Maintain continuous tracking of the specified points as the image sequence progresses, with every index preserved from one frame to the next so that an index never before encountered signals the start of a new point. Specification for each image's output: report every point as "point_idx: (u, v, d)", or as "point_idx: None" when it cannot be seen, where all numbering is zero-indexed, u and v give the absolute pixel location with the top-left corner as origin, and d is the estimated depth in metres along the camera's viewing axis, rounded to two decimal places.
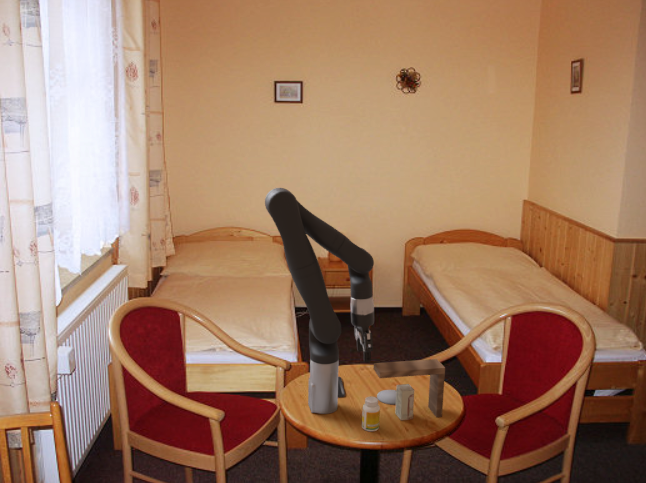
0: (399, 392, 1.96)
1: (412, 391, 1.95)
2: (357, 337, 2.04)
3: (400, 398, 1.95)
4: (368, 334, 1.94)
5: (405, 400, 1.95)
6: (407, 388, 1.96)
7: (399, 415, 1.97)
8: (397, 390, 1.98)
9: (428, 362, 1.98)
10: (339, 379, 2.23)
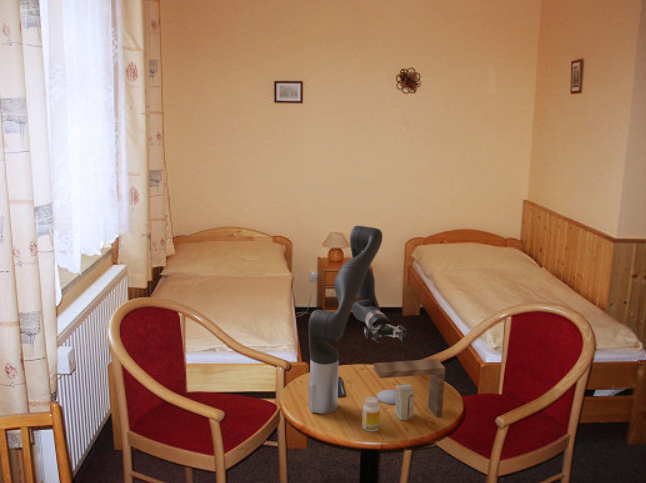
0: (399, 392, 1.96)
1: (412, 391, 1.95)
2: (377, 331, 2.14)
3: (400, 398, 1.95)
4: None
5: (405, 400, 1.95)
6: (407, 388, 1.96)
7: (399, 415, 1.97)
8: (397, 390, 1.98)
9: (428, 362, 1.98)
10: (339, 379, 2.23)
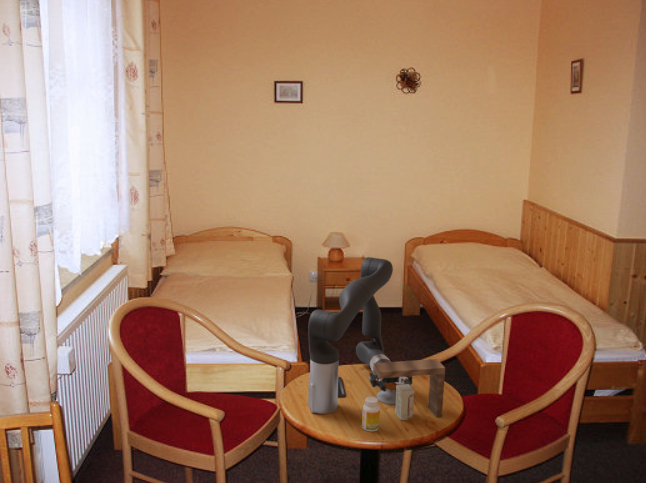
0: (399, 392, 1.96)
1: (412, 390, 1.95)
2: (383, 378, 2.09)
3: (400, 398, 1.95)
4: None
5: (405, 400, 1.95)
6: (407, 388, 1.96)
7: (399, 415, 1.97)
8: (397, 390, 1.98)
9: (428, 362, 1.98)
10: (339, 379, 2.23)
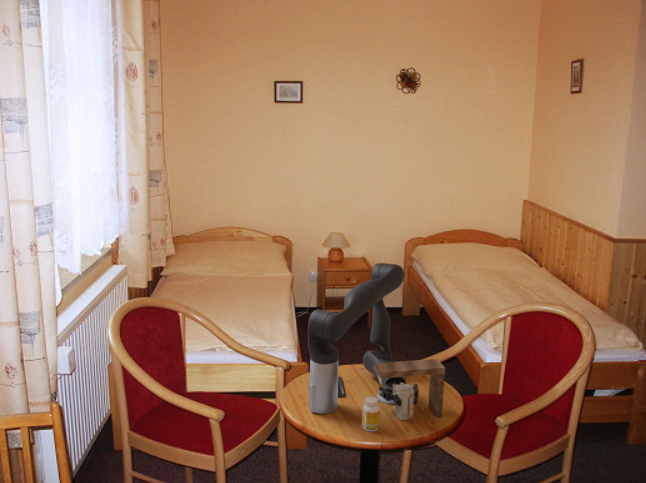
0: (399, 392, 1.96)
1: (412, 390, 1.95)
2: None
3: (400, 398, 1.95)
4: None
5: (405, 400, 1.95)
6: (406, 388, 1.96)
7: (399, 415, 1.97)
8: (397, 390, 1.98)
9: (428, 362, 1.98)
10: (339, 379, 2.23)
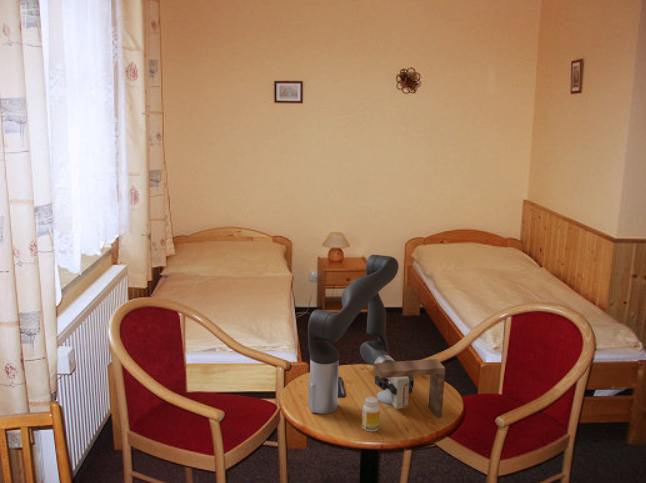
0: (394, 381, 2.00)
1: (407, 380, 1.99)
2: None
3: None
4: None
5: (400, 389, 1.99)
6: (402, 377, 2.00)
7: (394, 404, 2.01)
8: (393, 379, 2.02)
9: (428, 362, 1.98)
10: (339, 379, 2.23)
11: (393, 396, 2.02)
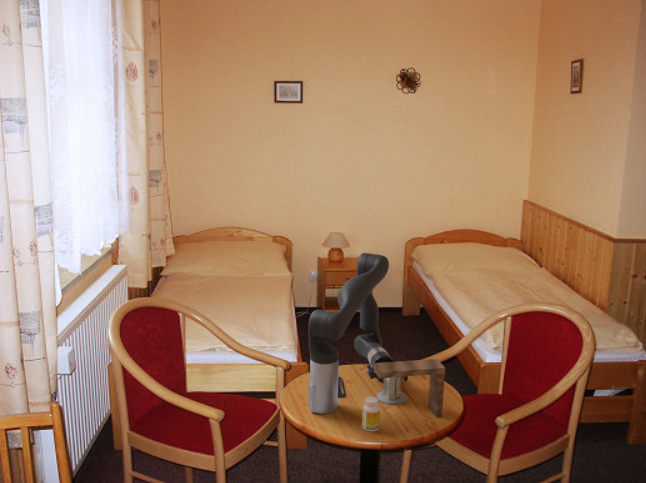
0: None
1: None
2: None
3: (388, 379, 2.08)
4: None
5: (392, 381, 2.07)
6: None
7: (387, 395, 2.09)
8: None
9: (428, 362, 1.98)
10: (339, 379, 2.23)
11: (385, 388, 2.10)
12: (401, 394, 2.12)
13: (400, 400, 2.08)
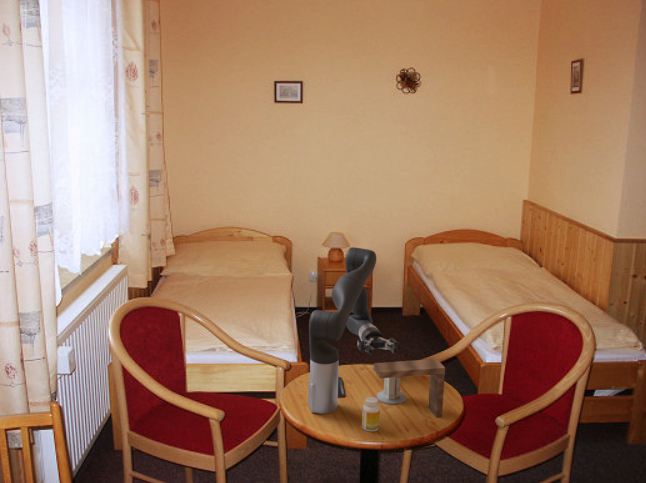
0: None
1: None
2: (370, 343, 2.23)
3: (388, 379, 2.08)
4: None
5: (392, 381, 2.07)
6: None
7: (387, 395, 2.09)
8: None
9: (428, 362, 1.98)
10: (339, 379, 2.23)
11: (385, 388, 2.10)
12: (401, 394, 2.12)
13: (400, 400, 2.08)
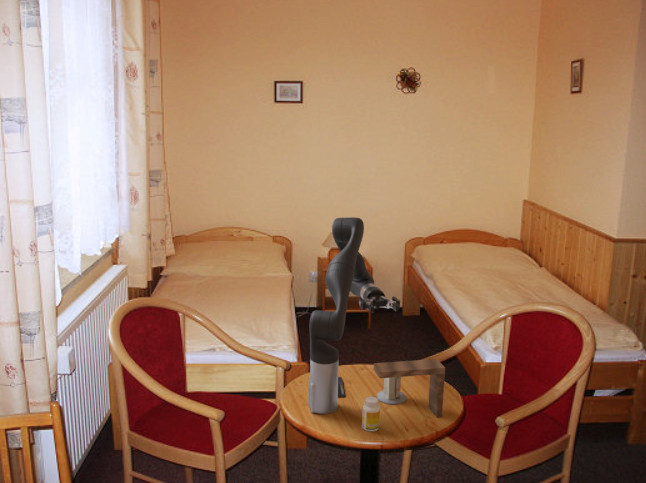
0: None
1: None
2: (372, 302, 2.20)
3: (388, 379, 2.08)
4: None
5: (392, 381, 2.07)
6: None
7: (387, 395, 2.09)
8: None
9: (428, 362, 1.98)
10: (339, 379, 2.23)
11: (385, 388, 2.10)
12: (401, 394, 2.12)
13: (400, 400, 2.08)
